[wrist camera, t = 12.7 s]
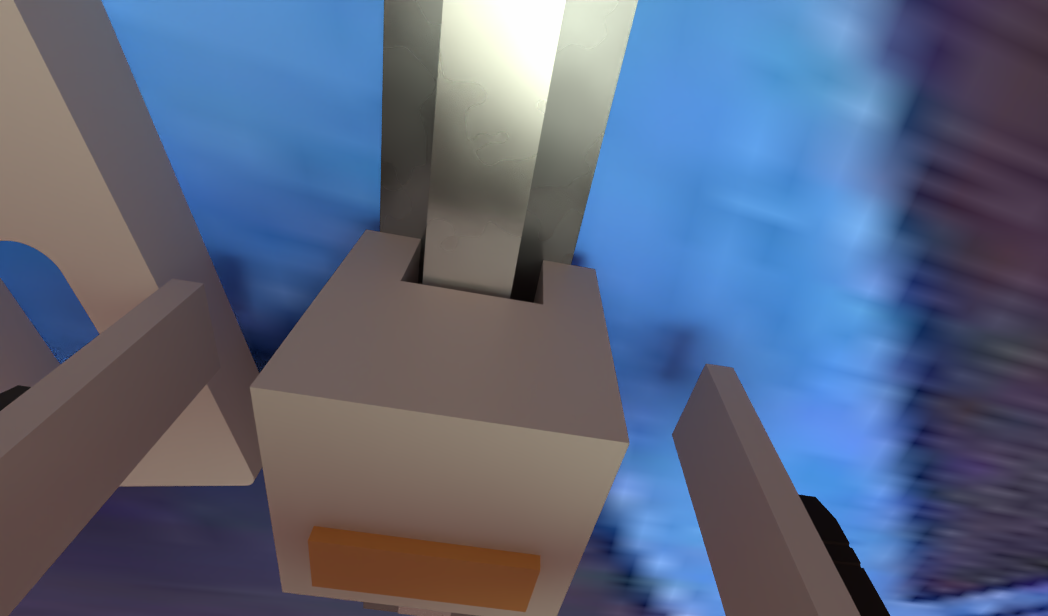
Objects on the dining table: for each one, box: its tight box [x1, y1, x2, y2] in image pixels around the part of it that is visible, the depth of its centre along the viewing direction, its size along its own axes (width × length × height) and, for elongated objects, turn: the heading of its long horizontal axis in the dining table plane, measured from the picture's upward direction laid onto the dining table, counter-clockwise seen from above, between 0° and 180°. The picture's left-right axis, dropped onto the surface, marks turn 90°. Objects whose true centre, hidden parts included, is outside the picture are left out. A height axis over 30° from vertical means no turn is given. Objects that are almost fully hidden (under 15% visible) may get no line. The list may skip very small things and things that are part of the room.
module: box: [250, 230, 629, 616], centre depth 12 cm, size 6×6×6 cm
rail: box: [364, 0, 638, 616], centre depth 12 cm, size 5×34×3 cm, turn 170°
